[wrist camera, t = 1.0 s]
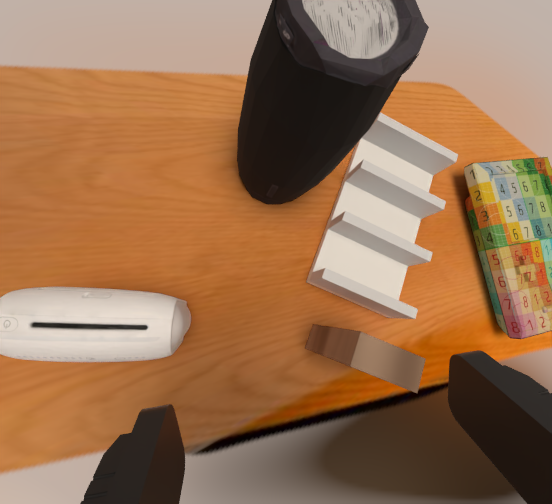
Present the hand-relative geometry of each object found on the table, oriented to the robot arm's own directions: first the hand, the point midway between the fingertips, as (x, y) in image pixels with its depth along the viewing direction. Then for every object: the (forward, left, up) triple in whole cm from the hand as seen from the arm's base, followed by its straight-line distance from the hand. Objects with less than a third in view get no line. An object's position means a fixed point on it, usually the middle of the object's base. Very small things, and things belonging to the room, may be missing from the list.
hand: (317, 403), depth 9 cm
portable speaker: (-3, +17, -22) cm, 28 cm away
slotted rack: (+9, +17, -22) cm, 29 cm away
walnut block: (+9, +3, -22) cm, 24 cm away
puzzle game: (+27, +22, -22) cm, 42 cm away
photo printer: (-10, -2, -22) cm, 24 cm away
